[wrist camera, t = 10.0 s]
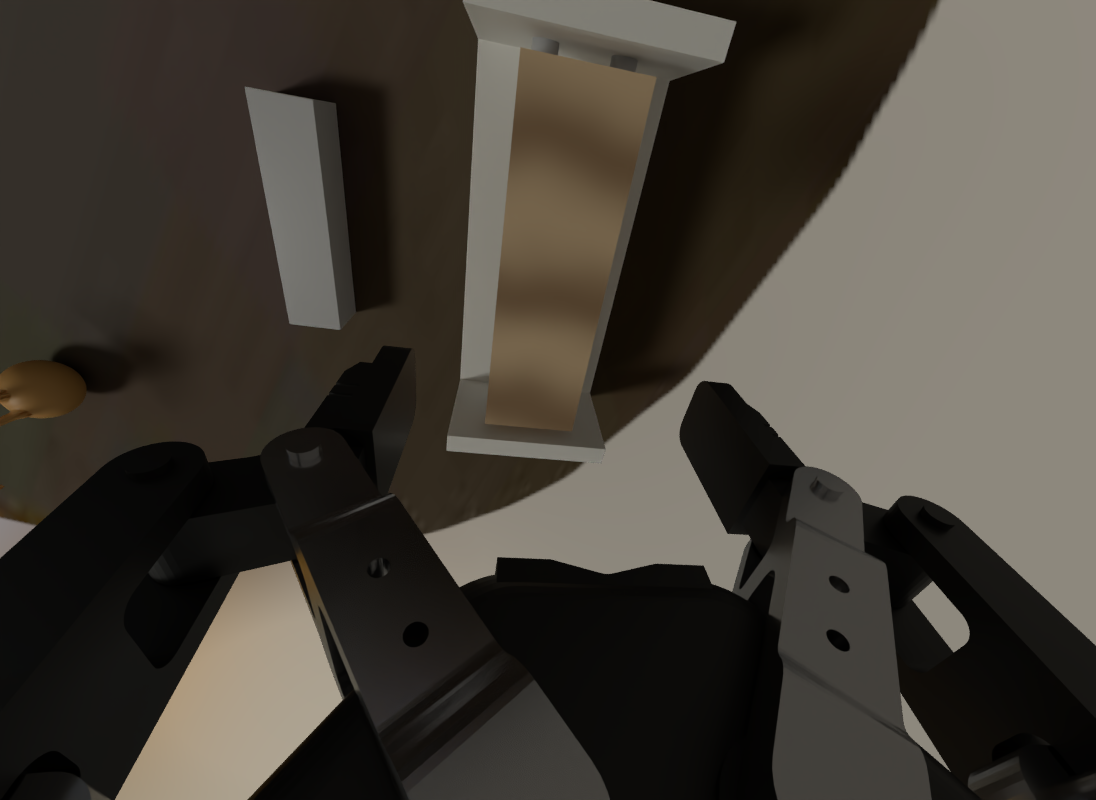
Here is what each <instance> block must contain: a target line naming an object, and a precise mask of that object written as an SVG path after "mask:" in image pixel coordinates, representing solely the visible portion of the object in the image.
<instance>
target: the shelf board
mask: <svg viewBox="0 0 1096 800" xmlns="http://www.w3.org/2000/svg"><path fill="white" fill-rule="evenodd" d="M656 78H657V77H654V76H650V75H645V74H640V73H636V72H631V71H627V70H622V69H618V68H613V67H609V66H604V65H599V64H595V63H590V62H586V61H581V60H577V59H572V58H567V57H563V56H558V55H554V54H549V53H545V52H540V51H536V50H531V49H526V48H522V47H520V56H519V67H518V78H517V88H516V99H515V109H514V120H513V131H512V141H511V152H510V162H509V173H508V183H507V194H506V205H505V215H504V226H503V236H502V247H501V258H500V268H499V279H498V289H497V300H496V311H495V321H494V332H493V342H492V353H491V364H490V374H489V385H488V395H487V406H486V417H485V424H494V425H505V426H516V427H527V428H538V429H549V430H560V431H571V432H572V429H573V425H574V421H575V416H576V412H577V408H578V404H579V400H580V396H581V391H582V387H583V383H584V379H585V375H586V371H587V366H588V362H589V358H590V354H591V350H592V345H593V341H594V337H595V333H596V329H597V325H598V320H599V316H600V312H601V308H602V304H603V300H604V295H605V291H606V287H607V283H608V279H609V274H610V270H611V266H612V262H613V258H614V254H615V249H616V245H617V241H618V237H619V233H620V228H621V224H622V220H623V216H624V212H625V208H626V203H627V199H628V195H629V191H630V187H631V183H632V178H633V174H634V170H635V166H636V162H637V157H638V153H639V149H640V145H641V141H642V137H643V132H644V128H645V124H646V120H647V116H648V112H649V107H650V103H651V99H652V95H653V91H654V86H655V82H656Z"/></svg>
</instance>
